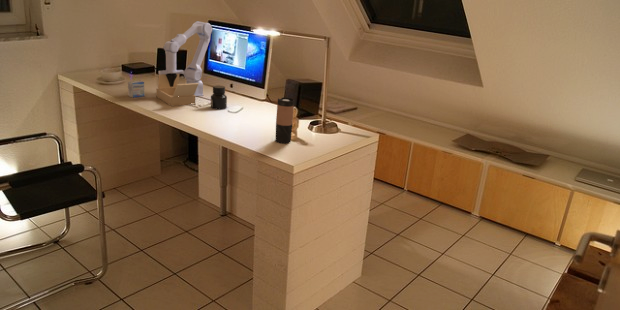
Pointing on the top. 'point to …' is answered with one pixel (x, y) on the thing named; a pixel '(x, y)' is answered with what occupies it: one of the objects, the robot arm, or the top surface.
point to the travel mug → (284, 120)
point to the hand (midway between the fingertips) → (171, 86)
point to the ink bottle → (218, 97)
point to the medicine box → (136, 89)
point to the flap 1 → (165, 83)
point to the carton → (167, 97)
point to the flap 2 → (185, 89)
